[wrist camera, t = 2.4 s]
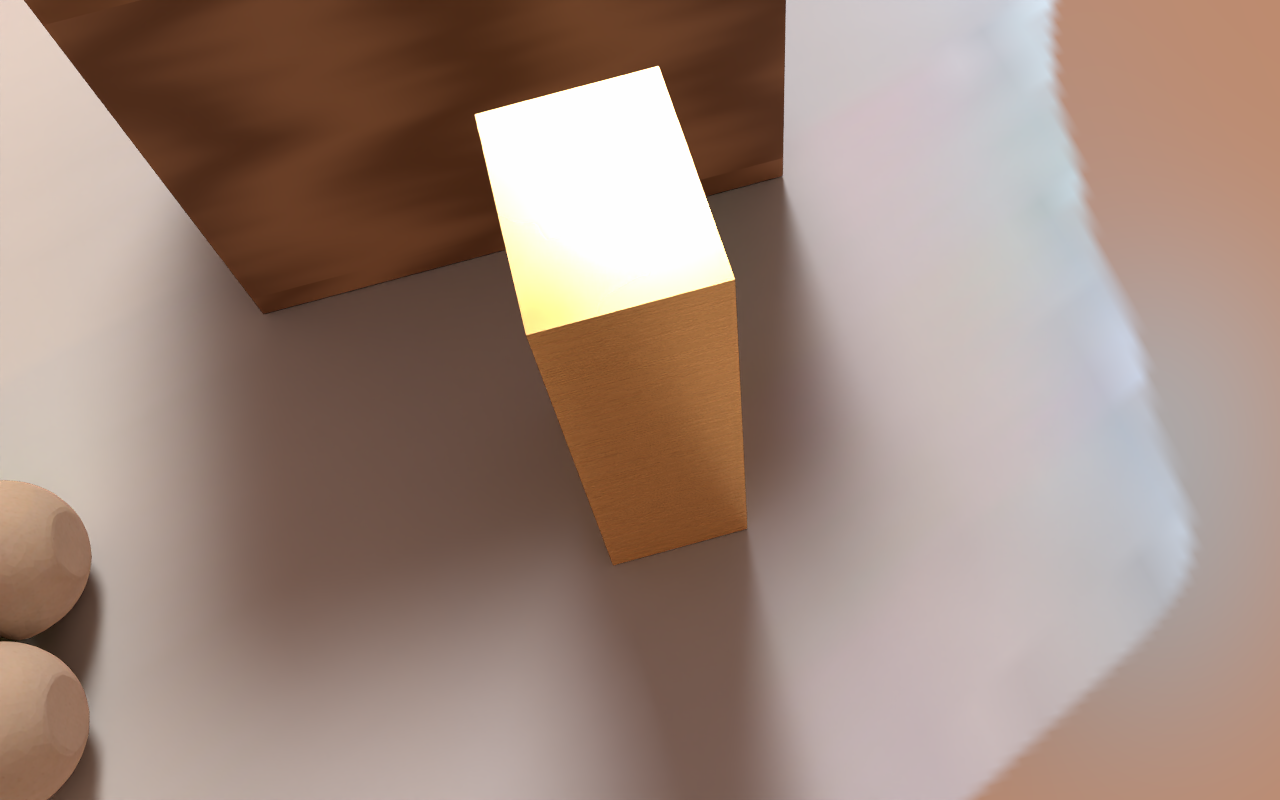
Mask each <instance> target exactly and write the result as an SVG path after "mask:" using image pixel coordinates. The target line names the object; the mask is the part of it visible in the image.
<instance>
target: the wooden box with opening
mask: <svg viewBox="0 0 1280 800" xmlns="http://www.w3.org/2000/svg"><path fill="white" fill-rule="evenodd" d="M24 1H25V2H26V3H27V5H28V6H29V7H30V9H31V10H32V11H33V13H34V14H35V15H36V17H37V18H38V19H39V20H40V22H41V23H42V24H43V26H44V27H45V28H46V30H47V31H48V32H49V34H50V35H51V36H52V38H53V39H54V40H55V41H56V43H57V44H58V45H59V47H60V48H61V49H62V51H63V52H64V53H65V55H66V56H67V57H68V59H69V60H70V61H71V62H72V64H73V65H74V66H75V68H76V69H77V70H78V72H79V73H80V74H81V76H82V77H83V78H84V79H85V81H86V82H87V83H88V85H89V86H90V87H91V89H92V90H93V91H94V93H95V94H96V95H97V97H98V98H99V99H100V100H101V102H102V103H103V104H104V106H105V107H106V108H107V110H108V111H109V112H110V114H111V115H112V116H113V118H114V119H115V120H116V121H117V123H118V124H119V125H120V127H121V128H122V129H123V131H124V132H125V133H126V135H127V136H128V137H129V138H130V140H131V141H132V142H133V144H134V145H135V146H136V148H137V149H138V150H139V152H140V153H141V154H142V156H143V157H144V158H145V159H146V161H147V162H148V163H149V165H150V166H151V167H152V169H153V170H154V171H155V173H156V174H157V175H158V177H159V178H160V179H161V180H162V182H163V183H164V184H165V186H166V187H167V188H168V190H169V191H170V192H171V194H172V195H173V196H174V197H175V199H176V200H177V201H178V203H179V204H180V205H181V207H182V208H183V209H184V211H185V212H186V213H187V215H188V216H189V217H190V218H191V220H192V221H193V222H194V224H195V225H196V226H197V228H198V229H199V230H200V232H201V233H202V234H203V236H204V237H205V238H206V239H207V241H208V242H209V243H210V245H211V246H212V247H213V249H214V250H215V251H216V253H217V254H218V255H219V256H220V258H221V259H222V260H223V262H224V263H225V264H226V266H227V267H228V268H229V270H230V271H231V272H232V274H233V275H234V276H235V277H236V279H237V280H238V281H239V283H240V284H241V285H242V287H243V288H244V289H245V291H246V292H247V293H248V295H249V296H250V297H251V298H252V300H253V301H254V302H255V304H256V305H257V306H258V308H259V309H260V310H261V312H262V313H263V314H265V313H269V312H273V311H277V310H280V309H284V308H288V307H292V306H295V305H299V304H303V303H307V302H311V301H314V300H318V299H322V298H326V297H329V296H333V295H337V294H341V293H344V292H348V291H352V290H356V289H359V288H363V287H367V286H371V285H374V284H378V283H382V282H386V281H389V280H393V279H397V278H401V277H404V276H408V275H412V274H416V273H419V272H423V271H427V270H431V269H435V268H438V267H442V266H446V265H450V264H453V263H457V262H461V261H465V260H468V259H472V258H476V257H480V256H483V255H487V254H491V253H495V252H498V251H502V250H506V247H505V242H504V238H503V234H502V229H501V225H500V221H499V216H498V212H497V208H496V203H495V199H494V195H493V191H492V186H491V182H490V178H489V173H488V169H487V165H486V160H485V156H484V152H483V147H482V143H481V139H480V135H479V130H478V126H477V122H476V117H475V114H478V113H482V112H486V111H490V110H494V109H497V108H501V107H505V106H509V105H513V104H516V103H520V102H524V101H528V100H532V99H535V98H539V97H543V96H547V95H551V94H554V93H558V92H562V91H566V90H570V89H573V88H577V87H581V86H585V85H589V84H592V83H596V82H600V81H604V80H608V79H611V78H615V77H619V76H623V75H627V74H631V73H634V72H638V71H642V70H646V69H650V68H653V67H657V66H659V69H660V72H661V75H662V77H663V80H664V83H665V86H666V89H667V91H668V94H669V97H670V100H671V102H672V105H673V108H674V111H675V114H676V116H677V119H678V122H679V125H680V128H681V130H682V133H683V136H684V139H685V141H686V144H687V147H688V150H689V153H690V155H691V158H692V161H693V164H694V166H695V169H696V172H697V175H698V178H699V180H700V183H701V186H702V189H703V192H704V194H705V196H709V195H713V194H716V193H720V192H724V191H728V190H731V189H735V188H739V187H743V186H746V185H750V184H754V183H758V182H761V181H765V180H769V179H773V178H776V177H780V176H783V129H784V71H785V13H786V0H24Z"/></svg>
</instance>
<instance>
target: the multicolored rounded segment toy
mask: <svg viewBox="0 0 1280 800" xmlns="http://www.w3.org/2000/svg"><path fill="white" fill-rule="evenodd" d="M91 559H92V556H91V546H90V541H89V538H88V534H87V531H86V529H85V527H84V524H83V522H82V521H81V519H80V517H79V516H78V515H77V513H76V512H75V511H74V510H73V509H72V508H71V507H70V506H69V505H68V504H67V503H66V502H65V501H63V500H62V499H61V498H59V497H58V496H57V495H55V494H54V493H52V492H50V491H48V490H46V489H44V488H41V487H39V486H36V485H33V484H30V483H25V482H19V481H8V480H2V481H0V636H1V637H4V638H8V639H11V640H23V639H28V638H30V637H33V636H35V635H37V634H39V633H41V632H43V631H45V630H46V629H48V628H49V627H51V626H52V625H54V624H55V623H57V622H58V621H59V620H60V619H62V618H63V617H64V616H65V615H66V614H67V613H68V612H69V611H70V610H71V609H72V608H73V606H74V605H75V603H76V602H77V600H78V599H79V597H80V596H81V594H82V592H83V590H84V588H85V586H86V583H87V580H88V577H89V574H90V568H91ZM88 735H89V707H88V703H87V699H86V695H85V692H84V690H83V688H82V686H81V683H80V682H79V680H78V678H77V677H76V675H75V674H74V673H73V672H72V671H71V669H70V668H69V667H68V666H67V665H66V664H65V663H63V662H62V661H61V660H60V659H59V658H57V657H56V656H54V655H53V654H51V653H49V652H47V651H45V650H43V649H40V648H38V647H36V646H32V645H28V644H24V643H18V642H7V641H2V642H0V800H47V799H48V798H50V797H51V796H52V795H53V794H55V793H56V792H57V791H58V790H59V788H60V787H61V786H62V785H63V784H64V783H65V782H66V781H67V779H68V778H69V777H70V776H71V774H72V773H73V771H74V770H75V768H76V766H77V764H78V762H79V760H80V758H81V756H82V754H83V751H84V748H85V745H86V742H87V739H88Z"/></svg>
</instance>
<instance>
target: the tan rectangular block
mask: <svg viewBox="0 0 1280 800" xmlns="http://www.w3.org/2000/svg"><path fill="white" fill-rule="evenodd" d="M475 117H476V122H477V126H478V130H479V135H480V139H481V143H482V147H483V152H484V156H485V160H486V165H487V169H488V173H489V178H490V182H491V186H492V191H493V195H494V199H495V203H496V208H497V212H498V216H499V221H500V225H501V229H502V234H503V238H504V242H505V247H506V251H507V255H508V260H509V264H510V268H511V272H512V277H513V281H514V285H515V290H516V294H517V298H518V303H519V307H520V311H521V316H522V320H523V324H524V328H525V333H526V336H527V339H528V342H529V344H530V347H531V350H532V352H533V355H534V358H535V360H536V363H537V365H538V368H539V371H540V373H541V376H542V379H543V381H544V384H545V387H546V389H547V392H548V395H549V397H550V400H551V402H552V405H553V408H554V410H555V413H556V416H557V418H558V421H559V424H560V426H561V429H562V432H563V434H564V437H565V440H566V442H567V445H568V447H569V450H570V453H571V455H572V458H573V461H574V463H575V466H576V469H577V471H578V474H579V477H580V479H581V482H582V484H583V487H584V490H585V492H586V495H587V498H588V500H589V503H590V506H591V508H592V511H593V514H594V516H595V519H596V521H597V524H598V527H599V529H600V532H601V535H602V537H603V540H604V543H605V545H606V548H607V551H608V553H609V556H610V558H611V561H612V564H613V565H617V564H621V563H624V562H628V561H631V560H635V559H639V558H642V557H646V556H650V555H653V554H657V553H661V552H664V551H668V550H672V549H675V548H679V547H683V546H686V545H690V544H693V543H697V542H701V541H704V540H708V539H712V538H715V537H719V536H723V535H726V534H730V533H734V532H737V531H741V530H744V529H747V512H746V492H745V471H744V451H743V431H742V410H741V390H740V370H739V349H738V329H737V309H736V288H735V278H734V275H733V272H732V269H731V267H730V264H729V261H728V258H727V255H726V253H725V250H724V247H723V244H722V242H721V239H720V236H719V233H718V230H717V228H716V225H715V222H714V219H713V217H712V214H711V211H710V208H709V205H708V203H707V200H706V197H705V194H704V192H703V189H702V186H701V183H700V180H699V178H698V175H697V172H696V169H695V166H694V164H693V161H692V158H691V155H690V153H689V150H688V147H687V144H686V141H685V139H684V136H683V133H682V130H681V128H680V125H679V122H678V119H677V116H676V114H675V111H674V108H673V105H672V102H671V100H670V97H669V94H668V91H667V89H666V86H665V83H664V80H663V77H662V75H661V72H660V69H659V66H657V67H653V68H650V69H646V70H642V71H638V72H634V73H631V74H627V75H623V76H619V77H615V78H611V79H608V80H604V81H600V82H596V83H592V84H589V85H585V86H581V87H577V88H573V89H570V90H566V91H562V92H558V93H554V94H551V95H547V96H543V97H539V98H535V99H532V100H528V101H524V102H520V103H516V104H513V105H509V106H505V107H501V108H497V109H494V110H490V111H486V112H482V113H478V114H475Z"/></svg>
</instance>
